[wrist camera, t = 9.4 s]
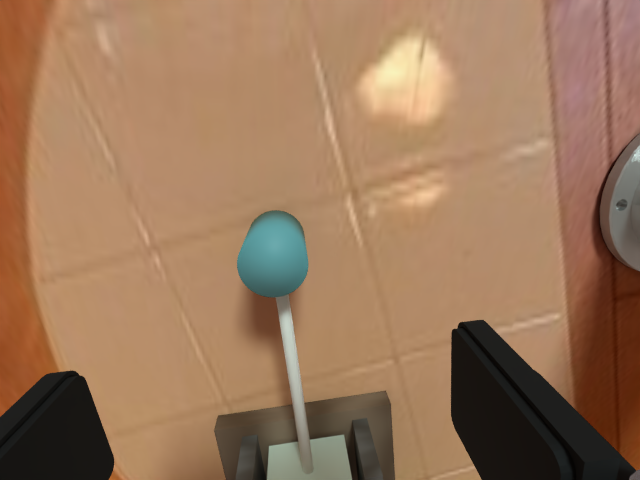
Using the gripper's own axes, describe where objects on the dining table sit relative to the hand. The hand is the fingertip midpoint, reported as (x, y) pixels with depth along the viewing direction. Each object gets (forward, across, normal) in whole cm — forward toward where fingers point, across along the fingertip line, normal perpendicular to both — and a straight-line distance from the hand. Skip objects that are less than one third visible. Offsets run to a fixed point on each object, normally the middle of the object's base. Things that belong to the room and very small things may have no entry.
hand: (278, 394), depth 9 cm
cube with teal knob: (+15, +1, +11) cm, 18 cm away
